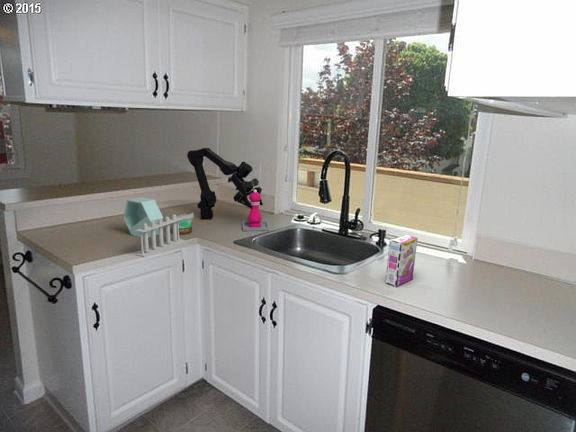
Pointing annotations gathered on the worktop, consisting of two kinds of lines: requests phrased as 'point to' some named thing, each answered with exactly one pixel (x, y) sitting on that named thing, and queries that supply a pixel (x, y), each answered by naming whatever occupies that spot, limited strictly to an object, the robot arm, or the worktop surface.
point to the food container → (184, 223)
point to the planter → (141, 214)
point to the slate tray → (263, 227)
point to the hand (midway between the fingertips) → (257, 206)
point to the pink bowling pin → (255, 210)
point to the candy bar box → (401, 260)
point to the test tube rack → (153, 235)
